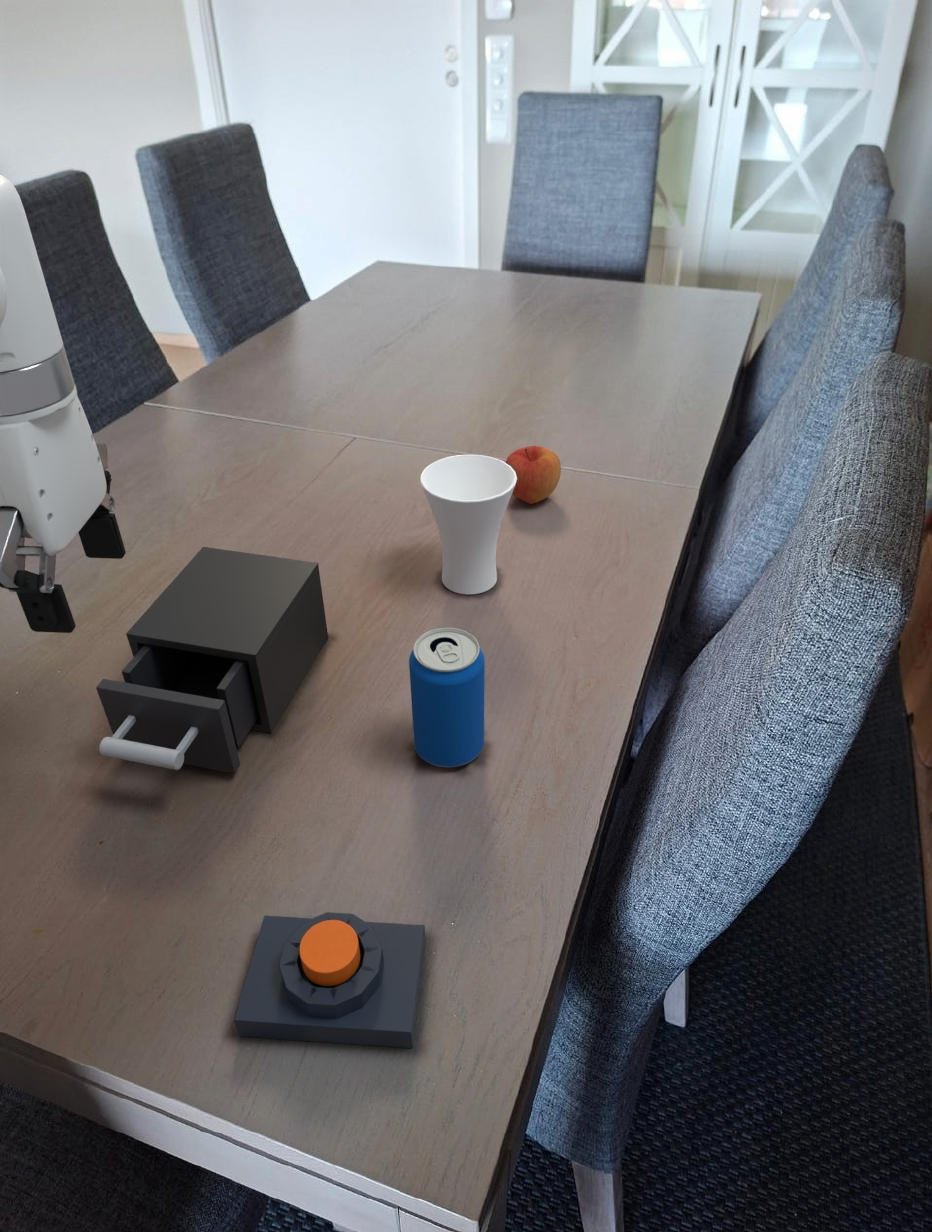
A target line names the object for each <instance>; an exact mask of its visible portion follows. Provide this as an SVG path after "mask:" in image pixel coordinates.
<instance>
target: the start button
mask: <svg viewBox="0 0 932 1232" xmlns="http://www.w3.org/2000/svg"><path fill="white" fill-rule="evenodd" d="M299 953H300V958H301V962H302V967H303V970H304V973H305V975H306V976H307V977H308V979H309V980H311V981H312V982H314V983H315V984H318V985H321V986H335V985H338V984H341V983H343V982H345V981H346V980H348V979H349V978H350V977H351V976H352V975H353V974H354V973H355V971H356V970H357V968H358V966H359V962H360V949H359V942H358V937H357V934H356V932H355V931H354V929H353V928H352V927H351V926H349V925H348V924H347V923H345V922H342V921H339V920H326V921H322V922H320V923H318V924H316V925H314V926H312V927H311V928H310V929H309V930H308V931H307V932H306V933H305V935H304V936H303V938H302V940H301V943H300V948H299Z"/></svg>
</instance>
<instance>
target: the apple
mask: <svg viewBox="0 0 932 1232" xmlns="http://www.w3.org/2000/svg"><path fill="white" fill-rule="evenodd" d="M505 463H506V464H508V465H510V466H511V467H512V469H513V470H514V471H515V472H516V476H517V481H516V484H515V487H514V490H513V492H512V495H514V496H515V497H516V498H518V499H519V500H521V501H523V502H524V503H526V504H528V505H532V504H535V503H539V502H540V501H543V500H546V498H548V497H549V496H551V495H552V494H553V493H554V491H555V490H556V488H557V486H558V485H559V482H560V479H561V475H562V474H561V473H562V467H561V461H560V458H559V456H558V455H557V453H555V452H554V451H552V450H551V449H549V448H547V447H543V446H540V445H539V446H538V445H530V446H525V447H520V448H518V449H516V450H513V451H512V452H511V453H510V454H509V455H508V456H507V457H506V460H505Z"/></svg>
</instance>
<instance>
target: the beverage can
mask: <svg viewBox="0 0 932 1232" xmlns="http://www.w3.org/2000/svg"><path fill="white" fill-rule="evenodd" d="M485 659H486V658H485V655H484V651H483V650H482V649H481V647H480V643H479V641H478V639H477V638H476V637H475V636H474V635H473V634H472V633H470V632H468V631H466V630H464V629H462V628H461V629H460V628H457V627H438V628H434V629H431V630H428V631H426V632H424V633H422V634H421V635H420V636H419V637H417V640H416V641H414V645H413V648H412V651H411V652H410V655H409V658H408V668H409V682H410V683H409V684H410V699H411V700H410V702H411V711H412V712H411V715H412V733H413V744H414V745H413V746H414V749H415V751H416V753H417V755H418V756H419V757H420V758H421V759H422V760H423V761H425V762H427V763H429V764H431V765H433V766H436V767H441V768H457V767H460V766H464V765H466V764H469V763H470V762H472V761H474V760H475V759H476V758H477V757H479V755H480V754H481V753H482V750H483V749H484V744H485V678H486V677H485V671H486V670H485V669H486V667H485V666H486V665H485V664H486V663H485V661H486V660H485Z"/></svg>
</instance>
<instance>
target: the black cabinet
mask: <svg viewBox="0 0 932 1232" xmlns="http://www.w3.org/2000/svg"><path fill="white" fill-rule="evenodd" d="M125 635H126V638H127V641H128V644H129V647H130V651H131V654H132V656H133V657H134V656H135V655H136V654H137V653H138V652H139V650H140V649H141V648H142V647H143V646H144V644H149V645H155V646H161V647H167V648H173V649H179V650H185V651H191V652H197V653H203V654H209V655H215V656H220V657H226V658H232V659H238V660H244V661H248V664H249V669H250V673H251V678H252V683H253V687H254V692H255V697H256V701H257V706H258V711H259V717H258V718H257V720H256V721H255V723H254V725H253V726H252V728H251V729H250V731H256V732H259V733H260V732H261V733H267V734H272V733H273V732H274V730H275V728H276V727H277V725H278V724H279V721H280V720H281V718H282V717H283V715H284V713H285V712H286V710H287V708H288V707H289V705H290V703H291V701H292V700H293V698H294V696H295V695H296V693H297V691H298V690H299V688H300V687H301V684H302V683H303V682H304V680H305V678H306V676H307V675H308V673H309V671H310V669H311V668H312V666H313V665H314V663H315V661H316V660H317V658H318V656H319V654H320V652H321V651H322V649H323V648H324V646H325V644H326V642H327V640H328V639H329V632H328V625H327V618H326V612H325V604H324V597H323V588H322V582H321V575H320V567H319V562H314V561H307V560H302V559H301V560H300V559H293V558H286V557H279V556H272V555H266V554H259V553H258V554H257V553H250V552H243V551H237V550H230V549H223V548H215V547H209V546H201V548H200V549H199V551H198V552H197V553H196V554H195V555H194V556H193V557H192V558H191V560H190V561H188V563H187V564H186V565H185V566H184V567H183V569H182V570H181V571H180V572H179V573H178V574H177V575H176V577H174V578H173V580H172V581H171V582H170V583H169V584H168V586H167V587H166V588H165V589H164V590H163V591H162V592H161V593H160V594H159V596H158V597H157V598H156V599H155V601H153V602H152V604H151V605H150V606H149V607H148V608H147V609H146V611H145V612H144V613H143V614H142V615H141V616H140V617H139V618H138V620H137V621H135V623H133V625H132V626H131V627H130V628H129V630H128V631H127V632H126V633H125ZM133 657H132V658H133Z"/></svg>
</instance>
